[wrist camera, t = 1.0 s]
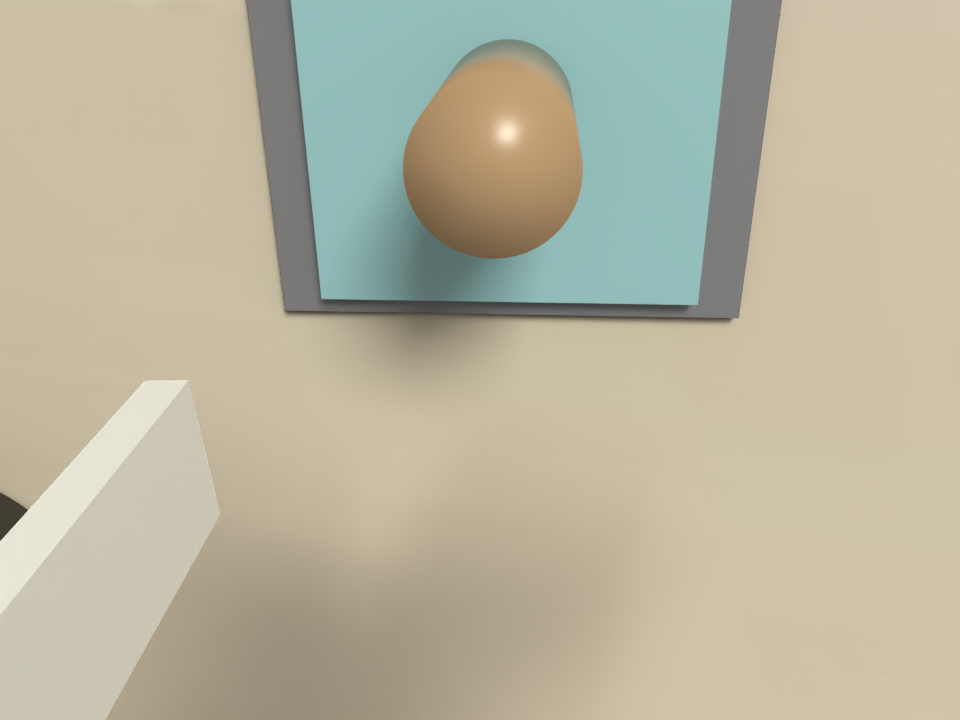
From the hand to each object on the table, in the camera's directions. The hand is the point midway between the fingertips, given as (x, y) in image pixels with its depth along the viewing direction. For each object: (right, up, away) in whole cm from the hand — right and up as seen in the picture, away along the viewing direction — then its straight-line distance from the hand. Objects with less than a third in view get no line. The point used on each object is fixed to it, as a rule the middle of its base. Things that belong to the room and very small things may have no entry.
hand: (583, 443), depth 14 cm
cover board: (-1, +11, +19) cm, 22 cm away
